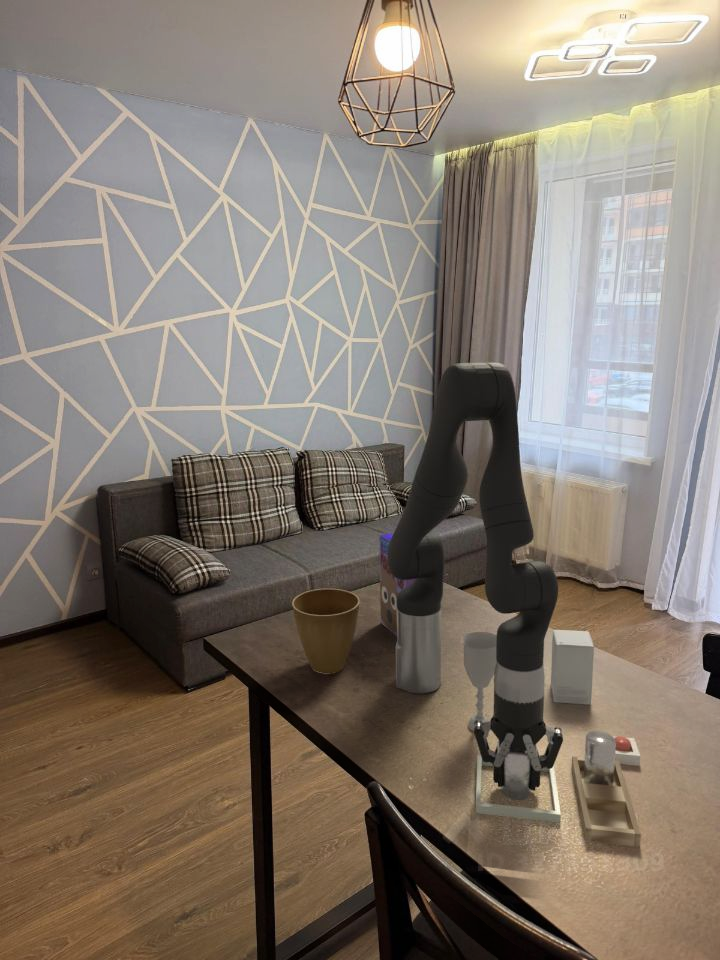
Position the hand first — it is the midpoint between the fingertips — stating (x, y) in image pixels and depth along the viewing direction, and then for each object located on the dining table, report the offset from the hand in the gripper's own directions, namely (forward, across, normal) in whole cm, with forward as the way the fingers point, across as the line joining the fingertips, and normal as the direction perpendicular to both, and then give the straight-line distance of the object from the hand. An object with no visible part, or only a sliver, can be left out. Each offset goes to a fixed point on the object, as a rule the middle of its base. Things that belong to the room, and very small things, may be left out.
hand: (516, 785), depth 104 cm
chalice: (+2, -6, +18) cm, 19 cm away
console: (+2, +18, +12) cm, 22 cm away
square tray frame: (+2, 0, 0) cm, 2 cm away
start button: (+1, +18, +12) cm, 22 cm away
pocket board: (+2, +13, -1) cm, 13 cm away
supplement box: (+2, +12, +33) cm, 35 cm away
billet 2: (+1, +13, +4) cm, 14 cm away
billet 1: (+2, 0, 0) cm, 2 cm away
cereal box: (+2, -25, +56) cm, 61 cm away
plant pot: (+2, -40, +37) cm, 55 cm away
